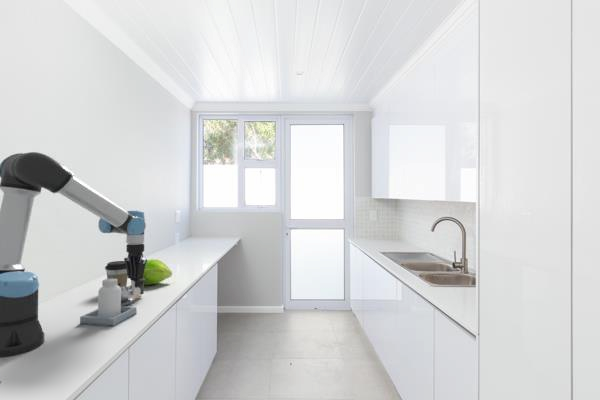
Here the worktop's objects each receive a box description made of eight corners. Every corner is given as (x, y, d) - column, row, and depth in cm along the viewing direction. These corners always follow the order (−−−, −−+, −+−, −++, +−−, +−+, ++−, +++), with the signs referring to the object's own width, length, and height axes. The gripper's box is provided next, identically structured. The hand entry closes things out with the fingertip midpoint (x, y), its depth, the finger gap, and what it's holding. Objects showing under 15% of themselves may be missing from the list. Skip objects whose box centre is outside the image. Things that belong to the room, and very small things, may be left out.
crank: (122, 303, 151) (122, 286, 151) (112, 301, 153) (112, 285, 153) (147, 294, 166) (147, 278, 166) (137, 293, 168) (137, 277, 167)
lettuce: (170, 286, 185) (170, 261, 185) (129, 288, 181) (129, 262, 180) (173, 279, 200) (173, 256, 200) (135, 281, 195) (136, 257, 195)
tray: (113, 326, 129) (113, 319, 129) (80, 323, 131) (80, 316, 131) (136, 313, 143) (136, 307, 143) (106, 311, 145) (106, 305, 145)
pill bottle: (111, 321, 132) (111, 282, 132) (93, 319, 134) (93, 281, 134) (125, 314, 140) (125, 278, 140) (108, 313, 142) (108, 277, 141)
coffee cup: (101, 296, 167) (102, 265, 167) (108, 289, 178) (108, 261, 178) (127, 294, 170) (127, 264, 170) (132, 288, 181) (132, 260, 181)
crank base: (123, 307, 151) (123, 304, 151) (109, 306, 152) (109, 303, 152) (146, 296, 167) (146, 294, 167) (133, 295, 168) (133, 293, 168)
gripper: (151, 243, 160) (151, 293, 160) (133, 242, 166) (133, 290, 166) (138, 245, 154) (137, 297, 154) (119, 243, 159) (118, 294, 159)
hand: (135, 294), depth 160 cm, fingers closed
